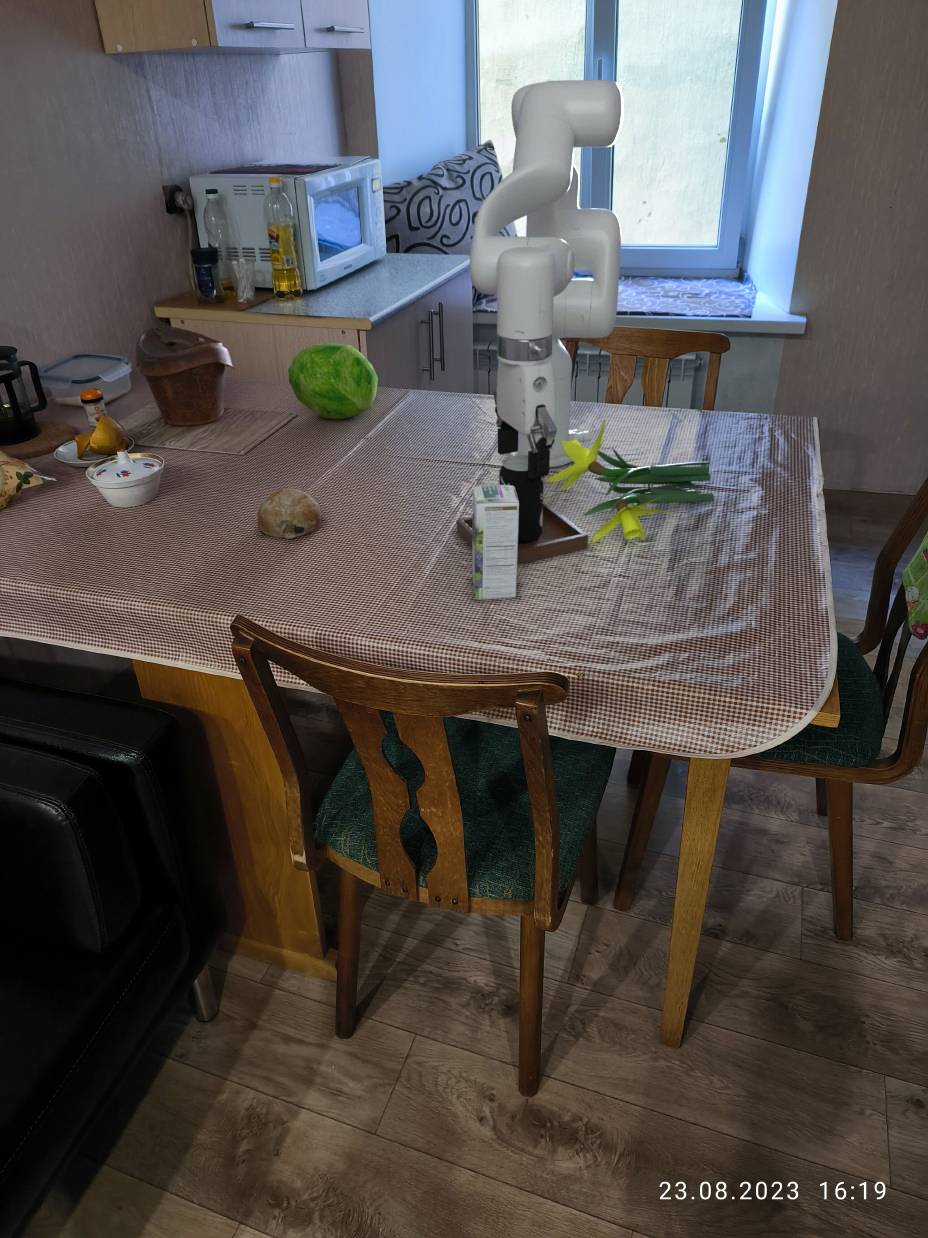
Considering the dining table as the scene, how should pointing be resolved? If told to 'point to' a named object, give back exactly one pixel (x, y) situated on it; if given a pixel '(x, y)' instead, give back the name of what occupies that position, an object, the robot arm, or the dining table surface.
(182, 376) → the brown tapered bucket shape
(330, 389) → the lettuce
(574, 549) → the tray
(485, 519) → the syrup box
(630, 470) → the daffodil flowers
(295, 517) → the bread roll
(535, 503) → the beverage can
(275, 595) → the dining table surface
